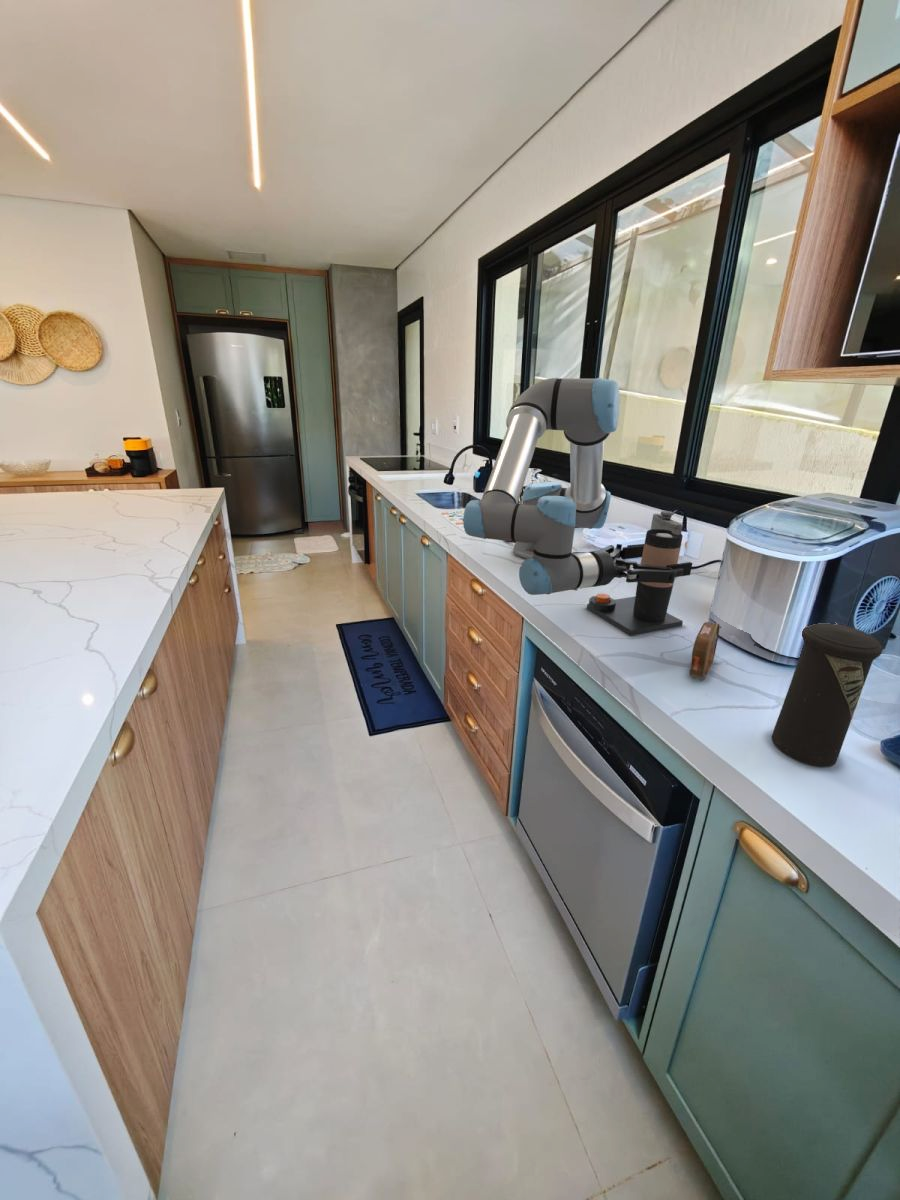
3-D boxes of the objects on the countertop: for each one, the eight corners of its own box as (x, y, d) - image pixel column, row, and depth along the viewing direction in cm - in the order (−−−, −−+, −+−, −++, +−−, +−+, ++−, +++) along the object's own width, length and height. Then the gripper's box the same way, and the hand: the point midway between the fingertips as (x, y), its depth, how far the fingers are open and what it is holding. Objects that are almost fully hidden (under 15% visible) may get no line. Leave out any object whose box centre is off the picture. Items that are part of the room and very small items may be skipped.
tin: (701, 687, 92) (711, 646, 89) (683, 681, 94) (692, 641, 91) (715, 655, 104) (724, 618, 101) (699, 651, 106) (707, 614, 102)
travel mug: (631, 619, 116) (646, 535, 108) (631, 607, 123) (645, 527, 115) (667, 624, 114) (684, 539, 106) (665, 612, 121) (681, 530, 113)
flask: (662, 577, 148) (674, 517, 141) (640, 562, 161) (650, 506, 154) (674, 577, 148) (686, 517, 141) (651, 562, 161) (661, 506, 154)
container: (824, 777, 71) (873, 653, 63) (758, 743, 78) (794, 627, 70) (847, 754, 76) (895, 635, 68) (782, 724, 83) (820, 613, 75)
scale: (583, 608, 125) (584, 597, 124) (632, 600, 131) (634, 589, 130) (628, 636, 111) (630, 624, 110) (681, 626, 117) (684, 614, 116)
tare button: (592, 600, 124) (593, 594, 123) (603, 598, 125) (604, 592, 124) (601, 605, 121) (602, 599, 120) (612, 603, 122) (612, 597, 121)
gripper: (554, 568, 118) (626, 558, 126) (626, 608, 97) (707, 594, 105) (557, 537, 115) (630, 529, 123) (632, 571, 94) (715, 559, 102)
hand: (666, 559), depth 114 cm, fingers open, 13 cm apart
